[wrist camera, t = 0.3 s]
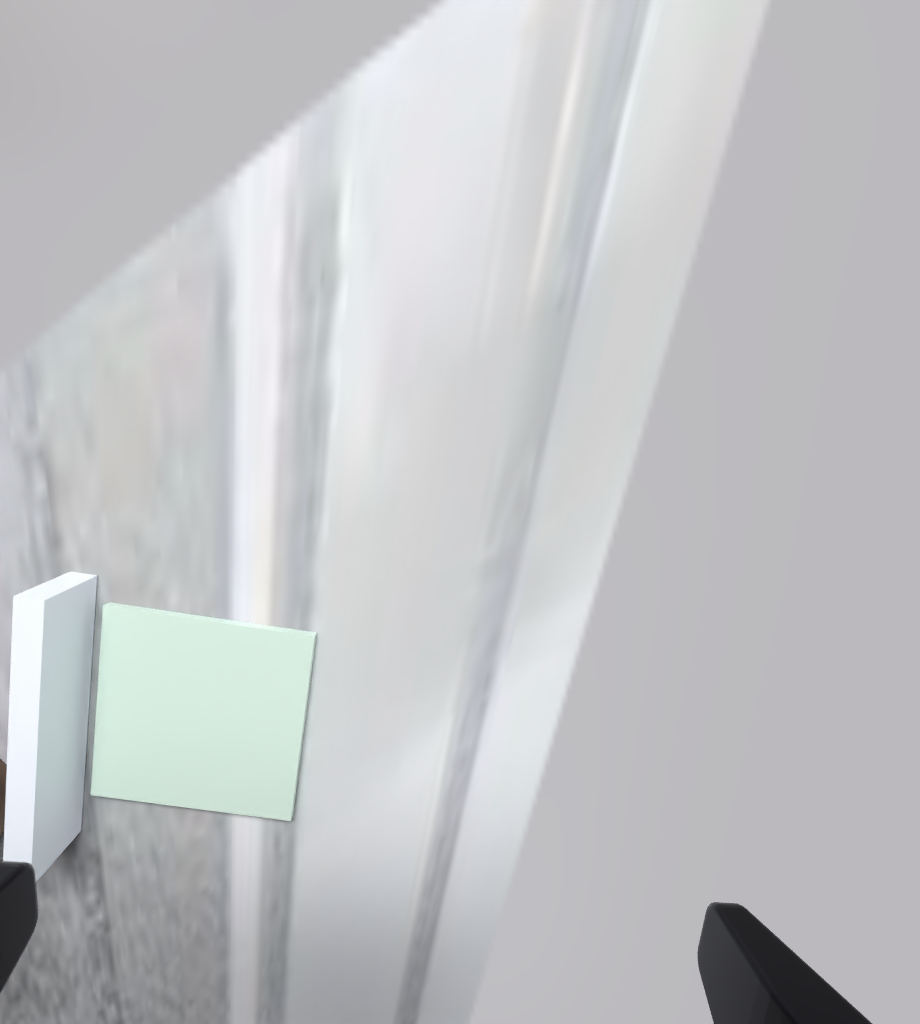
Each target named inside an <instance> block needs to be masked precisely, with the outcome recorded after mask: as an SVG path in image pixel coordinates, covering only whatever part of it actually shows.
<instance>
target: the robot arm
mask: <svg viewBox="0 0 920 1024" xmlns="http://www.w3.org/2000/svg"><path fill="white" fill-rule="evenodd" d="M37 919H38V902H37V891H36V879H35V871H34V868H33V866H32V865H31V864H30V863H27V862H12V861H0V993H1V992H2V990H3V988H4V986H5V984H6V982H7V980H8V979H9V977H10V975H11V973H12V971H13V969H14V968H15V966H16V964H17V962H18V960H19V958H20V957H21V955H22V953H23V951H24V949H25V947H26V946H27V944H28V942H29V940H30V938H31V936H32V934H33V932H34V929H35V927H36V923H37ZM698 965H699V970H700V974H701V978H702V982H703V986H704V989H705V993H706V996H707V1000H708V1004H709V1007H710V1011H711V1015H712V1018H713V1022H714V1024H872V1023H871V1022H870V1021H869V1020H867V1018H865V1017H864V1016H863V1015H862V1014H861V1013H860V1012H859V1011H858V1010H857V1009H856V1008H854V1007H853V1006H852V1005H851V1004H850V1003H849V1002H848V1001H847V1000H846V999H844V998H843V997H842V996H841V995H840V994H839V993H838V992H837V991H836V990H835V989H834V988H833V987H831V986H830V985H829V984H828V983H827V982H826V981H825V980H824V979H823V978H821V977H820V976H819V975H818V974H817V973H816V972H815V971H814V970H813V969H812V968H811V967H810V966H808V965H807V964H806V963H805V962H804V961H803V960H802V959H800V957H798V956H797V955H796V954H795V953H794V952H793V951H792V950H791V949H790V948H789V947H787V946H786V945H785V944H784V943H783V942H782V941H781V940H780V939H779V938H778V937H777V936H775V935H774V934H773V933H772V932H771V931H770V930H769V929H768V928H767V927H766V926H764V925H763V924H762V923H761V922H760V921H759V920H758V919H757V918H756V917H755V916H754V915H752V914H751V913H750V912H749V911H748V910H747V909H746V908H744V907H743V906H741V905H739V904H734V903H718V902H714V903H711V904H710V905H709V906H708V908H707V910H706V914H705V920H704V924H703V928H702V933H701V937H700V942H699V946H698Z"/></svg>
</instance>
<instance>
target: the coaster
mask: <svg viewBox="0 0 920 1024" xmlns="http://www.w3.org/2000/svg"><path fill="white" fill-rule="evenodd" d="M316 635H317V633H316V632H309V631H302V630H295V629H289V628H282V627H275V626H268V625H261V624H254V623H247V622H241V621H234V620H227V619H220V618H213V617H206V616H199V615H193V614H186V613H179V612H172V611H165V610H158V609H152V608H145V607H138V606H131V605H124V604H117V603H110V602H109V603H107V604H105V605H103V613H102V629H101V644H100V659H99V674H98V690H97V705H96V720H95V735H94V750H93V766H92V781H91V795H93V796H101V797H109V798H117V799H124V800H132V801H140V802H147V803H155V804H163V805H170V806H178V807H186V808H193V809H201V810H209V811H217V812H224V813H232V814H240V815H247V816H255V817H263V818H270V819H278V820H286V821H291V819H292V816H293V813H294V805H295V797H296V789H297V782H298V774H299V766H300V759H301V751H302V743H303V735H304V728H305V720H306V712H307V705H308V697H309V689H310V681H311V674H312V666H313V658H314V650H315V643H316Z"/></svg>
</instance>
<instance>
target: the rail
mask: <svg viewBox="0 0 920 1024" xmlns="http://www.w3.org/2000/svg"><path fill="white" fill-rule="evenodd" d="M96 589H97V575H91V574H84V573H77V572H68V573H66V574H64V575H61V576H59V577H57V578H54V579H52V580H50V581H47V582H45V583H43V584H40V585H38V586H36V587H33V588H31V589H29V590H26V591H24V592H22V593H19V594H17V595H15V596H13V621H12V646H11V672H10V697H9V723H8V748H7V774H6V799H5V825H4V850H3V861H12V862H27V863H30V864H31V865H32V866H33V868H34V871H35V879H36V882H37V881H38V880H39V879H40V877H41V876H42V875H43V874H44V873H45V872H46V871H47V869H48V868H49V867H50V866H51V865H52V864H53V862H54V861H55V860H56V859H57V858H58V857H59V856H60V854H61V853H62V852H63V851H64V850H65V849H66V848H67V846H68V845H69V844H70V843H71V842H72V841H73V839H74V838H75V837H76V836H77V835H78V834H79V833H80V831H81V825H82V809H83V794H84V778H85V762H86V746H87V731H88V715H89V699H90V683H91V667H92V652H93V636H94V620H95V604H96Z"/></svg>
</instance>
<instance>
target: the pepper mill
mask: <svg viewBox="0 0 920 1024" xmlns="http://www.w3.org/2000/svg"><path fill="white" fill-rule="evenodd" d="M6 774H7V765H6V764H5V763H4V762H3V761H2V760H0V835H1V834H2V833H3V832H4V825H5V799H6Z"/></svg>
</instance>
